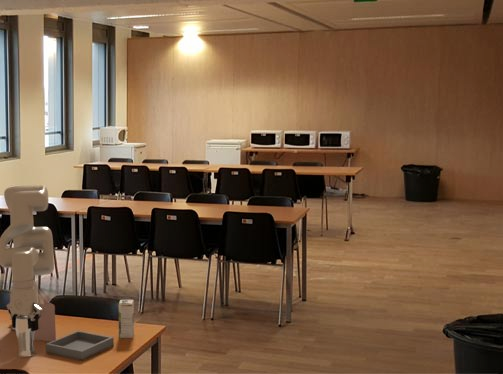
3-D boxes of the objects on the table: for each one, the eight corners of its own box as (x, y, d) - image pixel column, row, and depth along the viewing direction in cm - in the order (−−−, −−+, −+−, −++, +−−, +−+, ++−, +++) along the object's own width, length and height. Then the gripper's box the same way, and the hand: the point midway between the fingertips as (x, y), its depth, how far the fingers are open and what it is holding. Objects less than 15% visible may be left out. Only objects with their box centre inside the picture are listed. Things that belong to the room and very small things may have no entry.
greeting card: (58, 341, 287) (56, 304, 285) (39, 345, 282) (38, 308, 280) (47, 334, 296) (45, 298, 294) (29, 337, 291) (27, 301, 289)
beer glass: (30, 358, 268) (28, 319, 266) (13, 357, 269) (11, 318, 267) (39, 352, 274) (37, 314, 273) (22, 351, 276) (21, 313, 274)
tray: (46, 352, 274) (45, 344, 273) (78, 338, 289) (78, 330, 289) (82, 360, 265) (82, 351, 265) (113, 345, 281) (113, 337, 280)
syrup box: (120, 333, 295) (119, 299, 294) (134, 333, 296) (133, 299, 294) (118, 338, 290) (117, 303, 288) (133, 338, 290) (132, 303, 288)
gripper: (-2, 283, 269) (1, 328, 271) (32, 288, 261) (34, 334, 262) (14, 279, 276) (16, 323, 277) (47, 284, 267) (49, 329, 269)
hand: (25, 328), depth 270 cm, fingers open, 9 cm apart
